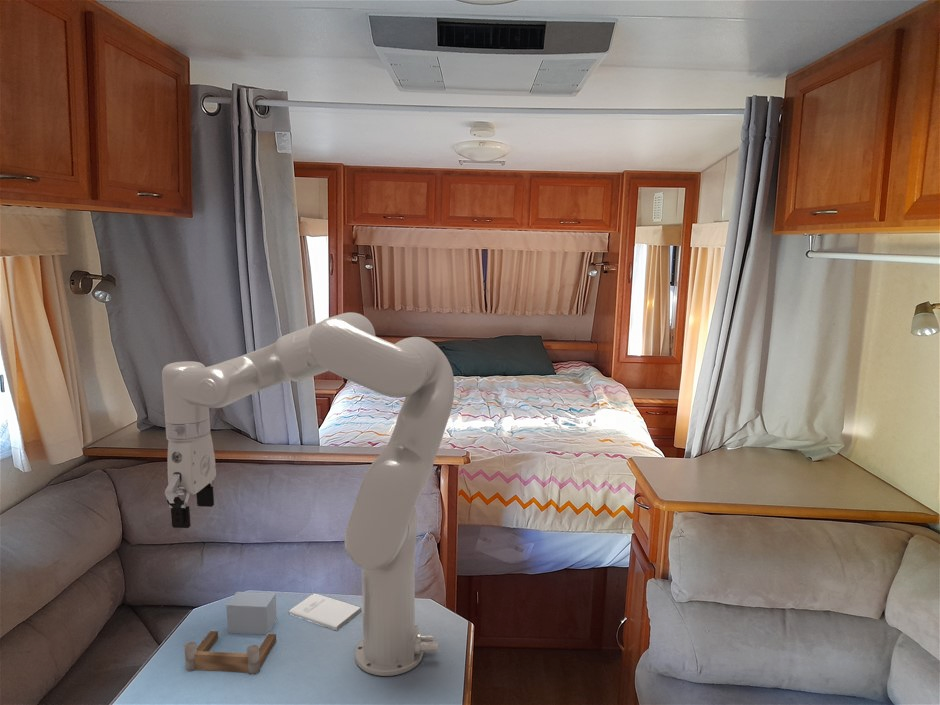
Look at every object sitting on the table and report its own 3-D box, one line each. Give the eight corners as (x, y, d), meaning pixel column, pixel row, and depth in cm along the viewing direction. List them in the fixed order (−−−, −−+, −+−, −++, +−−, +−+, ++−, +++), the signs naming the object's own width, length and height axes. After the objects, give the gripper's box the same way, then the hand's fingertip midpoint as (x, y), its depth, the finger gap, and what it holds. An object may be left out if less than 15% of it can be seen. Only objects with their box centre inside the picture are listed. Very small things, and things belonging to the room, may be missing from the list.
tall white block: (276, 620, 134) (275, 593, 133) (267, 635, 129) (266, 606, 128) (238, 618, 135) (237, 591, 134) (228, 633, 130) (226, 605, 129)
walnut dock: (277, 641, 127) (276, 619, 126) (257, 674, 117) (256, 651, 117) (209, 637, 128) (208, 616, 127) (183, 670, 118) (182, 647, 118)
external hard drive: (336, 634, 131) (288, 617, 136) (361, 613, 138) (315, 598, 144) (336, 626, 130) (288, 610, 136) (361, 606, 138) (315, 591, 143)
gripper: (185, 443, 113) (191, 537, 116) (227, 416, 130) (232, 499, 133) (143, 442, 114) (150, 535, 117) (190, 416, 131) (196, 498, 134)
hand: (194, 516), depth 125 cm, fingers open, 9 cm apart
